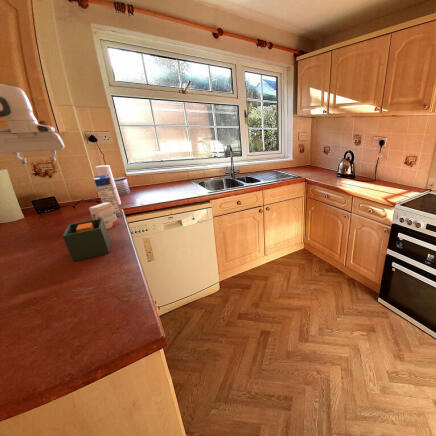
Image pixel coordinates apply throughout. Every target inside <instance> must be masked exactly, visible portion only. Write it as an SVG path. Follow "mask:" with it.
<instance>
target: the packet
mask: <svg viewBox="0 0 436 436" xmlns="http://www.w3.org/2000/svg"><path fill="white" fill-rule="evenodd" d="M92 229H94V227H93V224H92V222H91V223H86V224H80V225H78V226H77V229H76V231H77V232H82V231H87V230H92Z"/></svg>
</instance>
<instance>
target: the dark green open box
mask: <svg viewBox="0 0 436 436" xmlns="http://www.w3.org/2000/svg"><path fill="white" fill-rule="evenodd" d="M91 222H92V224H93V227H94V229H92V230H87V231H82V232H77V231H76V229H77V226H78V225H80V224H86V223H91ZM62 238H63V241H64V244H65V246H66V248H67V250H68V254H69V255H70V258H71V260H72V262H73V263H74V262H78V261H82V260H86V259H90V258H95V257H99V256H103V255H107V254H110V250H111V241H112V240H111V238H110V235H109V232H108V229H106V226H105V223H104V220H103V218H101V219H95V220H93V219H90V220H85V221H84V220H83V221H79V222H74V223H70V224H68V225H67V226H66V228H65V230H64V232H63V234H62Z"/></svg>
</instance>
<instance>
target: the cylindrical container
mask: <svg viewBox="0 0 436 436" xmlns="http://www.w3.org/2000/svg"><path fill="white" fill-rule="evenodd" d="M95 171H96V173H97V176H103V175H109V177H110V180H111V183H112V186H113V189H114V192H115V196H116V199H117V202H118V205H119V206H120V205H122V201H121V198H120V196H119V195H118V191H117V188H116V185H115V182H114V179H115V178H114V176H113V172H112V169H111V166H110V165H109V164H103V165H96V166H95Z"/></svg>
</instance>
